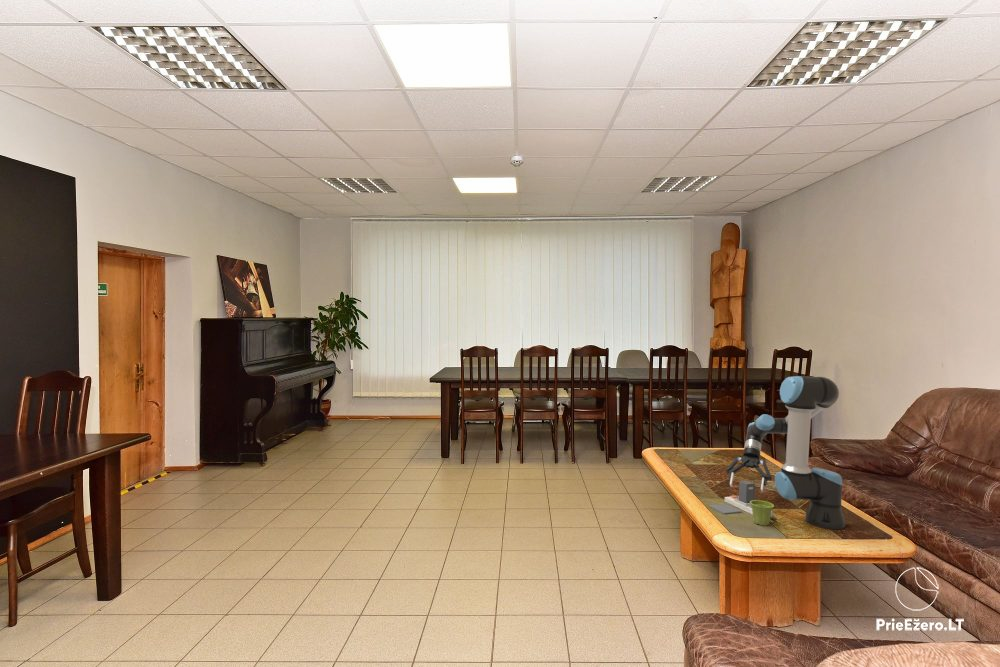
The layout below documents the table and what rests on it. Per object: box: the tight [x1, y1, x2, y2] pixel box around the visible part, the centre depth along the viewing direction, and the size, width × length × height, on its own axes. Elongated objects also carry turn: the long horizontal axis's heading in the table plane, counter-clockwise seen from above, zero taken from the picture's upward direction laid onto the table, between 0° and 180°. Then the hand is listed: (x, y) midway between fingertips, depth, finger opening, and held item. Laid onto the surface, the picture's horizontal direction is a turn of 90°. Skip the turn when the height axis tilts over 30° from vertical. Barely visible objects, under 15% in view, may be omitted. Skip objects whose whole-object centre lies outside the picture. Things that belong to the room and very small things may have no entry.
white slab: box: [724, 494, 778, 521], centre depth 253 cm, size 28×8×3 cm, turn 17°
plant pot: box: [750, 499, 775, 526], centre depth 237 cm, size 9×9×9 cm
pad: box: [708, 503, 743, 515], centre depth 253 cm, size 10×10×1 cm
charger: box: [738, 480, 756, 503], centre depth 256 cm, size 5×5×10 cm
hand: (746, 488), depth 258 cm, fingers open, 13 cm apart
